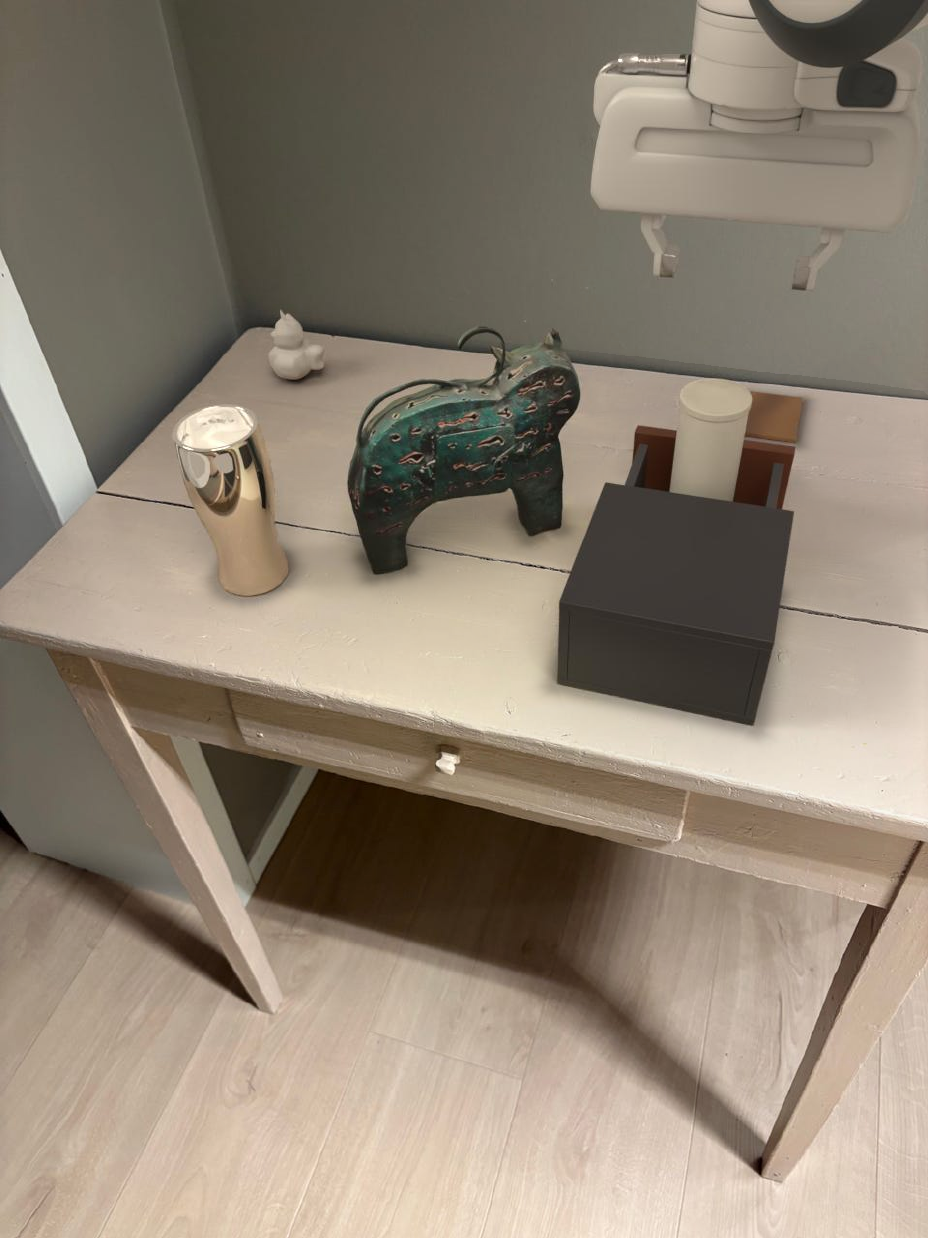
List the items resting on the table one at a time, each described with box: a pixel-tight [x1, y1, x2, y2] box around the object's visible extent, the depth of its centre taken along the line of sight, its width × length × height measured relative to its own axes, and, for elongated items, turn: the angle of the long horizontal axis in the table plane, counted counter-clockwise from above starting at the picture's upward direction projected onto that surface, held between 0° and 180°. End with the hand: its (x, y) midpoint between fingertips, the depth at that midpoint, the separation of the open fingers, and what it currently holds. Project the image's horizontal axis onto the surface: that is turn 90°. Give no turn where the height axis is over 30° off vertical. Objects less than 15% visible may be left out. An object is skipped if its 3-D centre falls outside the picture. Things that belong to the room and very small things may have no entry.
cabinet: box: [556, 482, 795, 726], centre depth 73 cm, size 15×15×9 cm
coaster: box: [744, 390, 804, 444], centre depth 98 cm, size 8×8×1 cm
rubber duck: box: [267, 308, 325, 381], centre depth 106 cm, size 5×7×8 cm
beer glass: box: [171, 403, 290, 597], centre depth 79 cm, size 7×7×15 cm
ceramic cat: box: [346, 325, 581, 575], centre depth 79 cm, size 20×6×20 cm, turn 108°
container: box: [670, 377, 752, 502], centre depth 78 cm, size 5×5×13 cm
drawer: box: [624, 424, 796, 509], centre depth 82 cm, size 18×13×7 cm
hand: (732, 280), depth 67 cm, fingers open, 8 cm apart
